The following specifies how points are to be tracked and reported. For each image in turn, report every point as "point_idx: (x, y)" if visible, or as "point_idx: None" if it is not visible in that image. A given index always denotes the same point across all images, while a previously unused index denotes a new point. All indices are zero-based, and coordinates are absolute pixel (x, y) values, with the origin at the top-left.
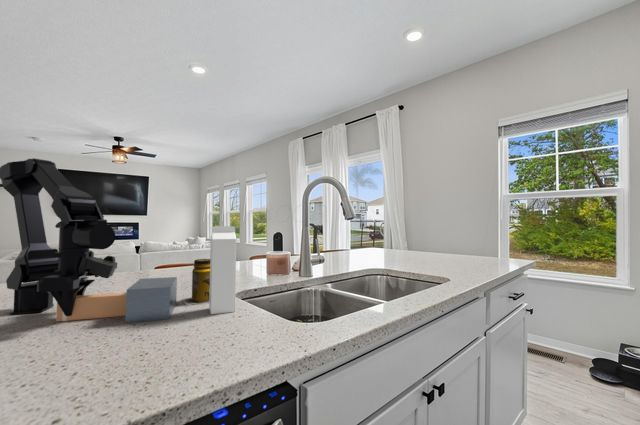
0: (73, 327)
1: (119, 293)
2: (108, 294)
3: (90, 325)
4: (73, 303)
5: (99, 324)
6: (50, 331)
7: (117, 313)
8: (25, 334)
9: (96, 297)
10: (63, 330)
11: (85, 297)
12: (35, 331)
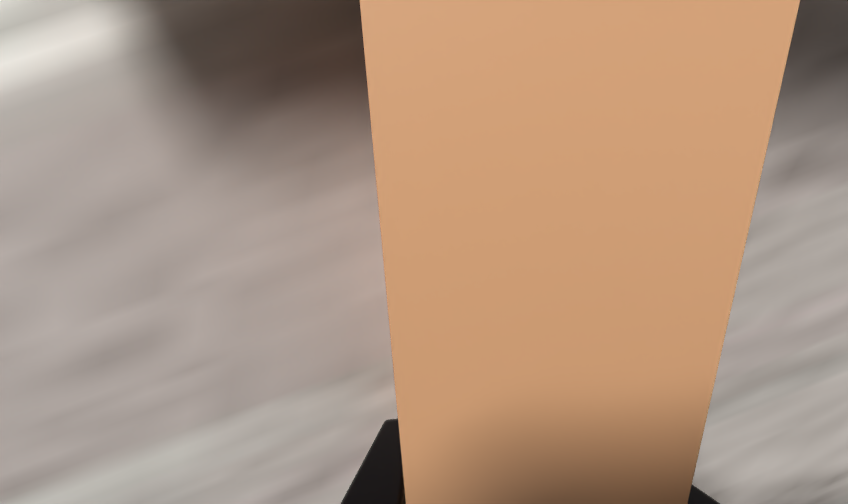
0: (778, 257)
1: None
2: (517, 5)
3: (797, 120)
4: (697, 500)
5: (812, 28)
6: (797, 381)
7: None
8: (778, 492)
9: (730, 248)
10: (827, 300)
11: (680, 460)
12: (737, 471)
